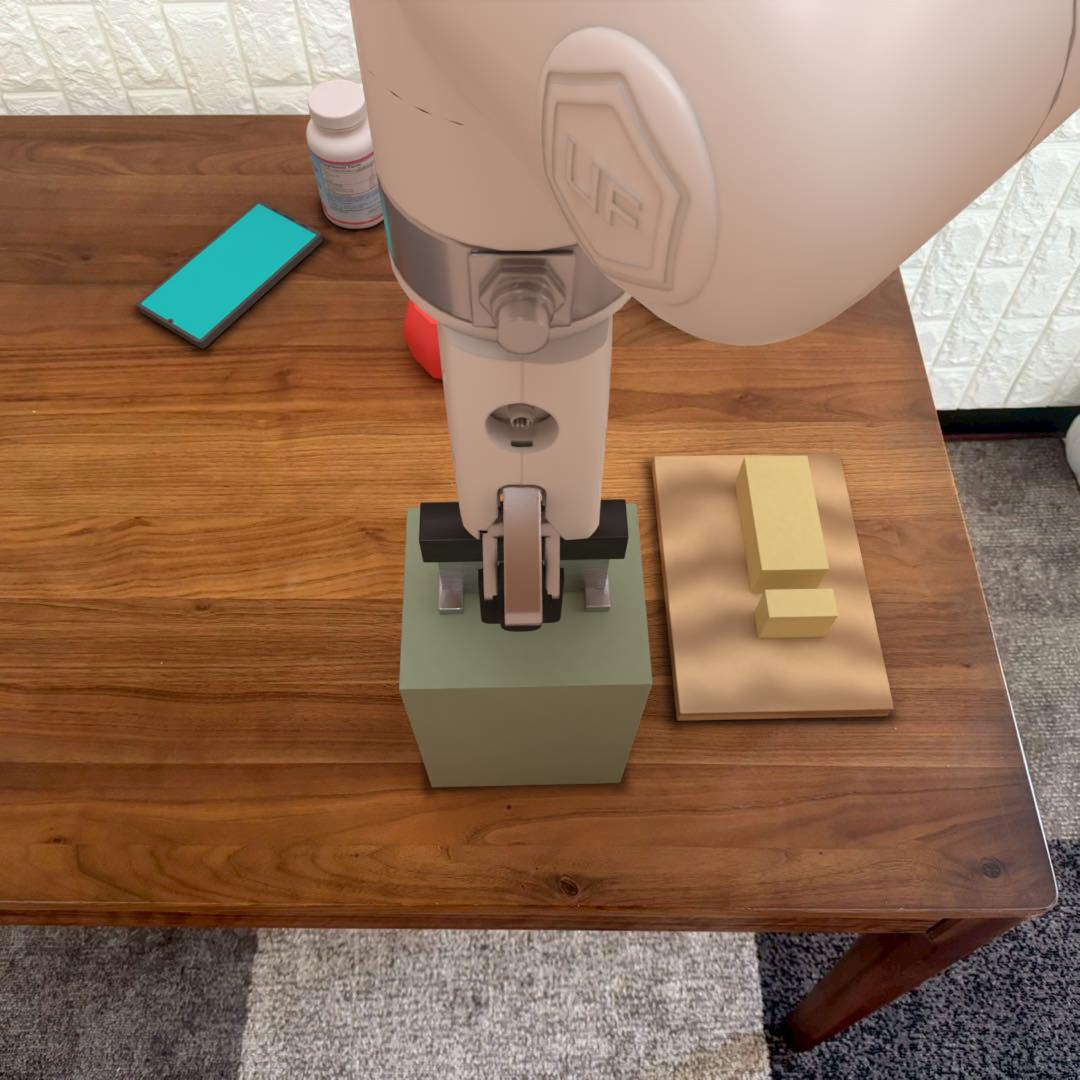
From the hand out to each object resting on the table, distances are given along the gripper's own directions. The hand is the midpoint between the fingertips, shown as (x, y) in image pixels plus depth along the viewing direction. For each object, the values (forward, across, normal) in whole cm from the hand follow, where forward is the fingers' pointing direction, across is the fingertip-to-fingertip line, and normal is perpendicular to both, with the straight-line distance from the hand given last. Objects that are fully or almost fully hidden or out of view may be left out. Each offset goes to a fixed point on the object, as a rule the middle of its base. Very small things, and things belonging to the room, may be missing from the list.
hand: (518, 513), depth 41 cm
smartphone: (+26, +39, +24) cm, 52 cm away
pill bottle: (+26, +47, +14) cm, 55 cm away
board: (+25, +9, -17) cm, 32 cm away
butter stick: (+24, +12, -18) cm, 32 cm away
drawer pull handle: (+7, 0, 0) cm, 7 cm away
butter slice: (+24, +5, -18) cm, 30 cm away
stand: (+25, 0, 0) cm, 25 cm away
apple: (+26, +30, +5) cm, 39 cm away
